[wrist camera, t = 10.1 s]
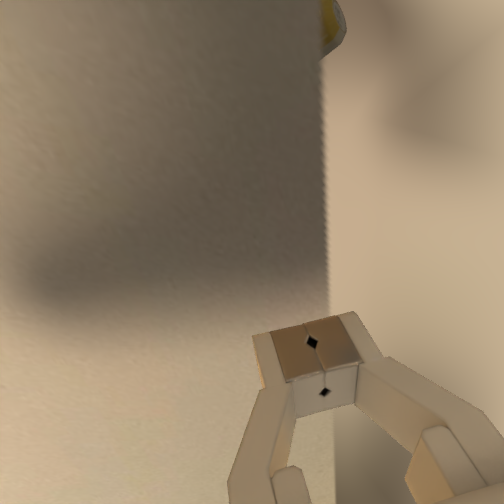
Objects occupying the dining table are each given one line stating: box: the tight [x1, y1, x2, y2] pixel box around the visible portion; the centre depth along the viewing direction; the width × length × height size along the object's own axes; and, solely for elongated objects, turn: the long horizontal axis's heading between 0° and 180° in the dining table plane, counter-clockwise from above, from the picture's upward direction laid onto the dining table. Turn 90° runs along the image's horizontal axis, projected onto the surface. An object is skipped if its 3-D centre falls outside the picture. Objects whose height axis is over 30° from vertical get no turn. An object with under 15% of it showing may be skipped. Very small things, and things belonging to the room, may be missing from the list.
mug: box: [320, 0, 347, 58], centre depth 59 cm, size 14×10×10 cm
